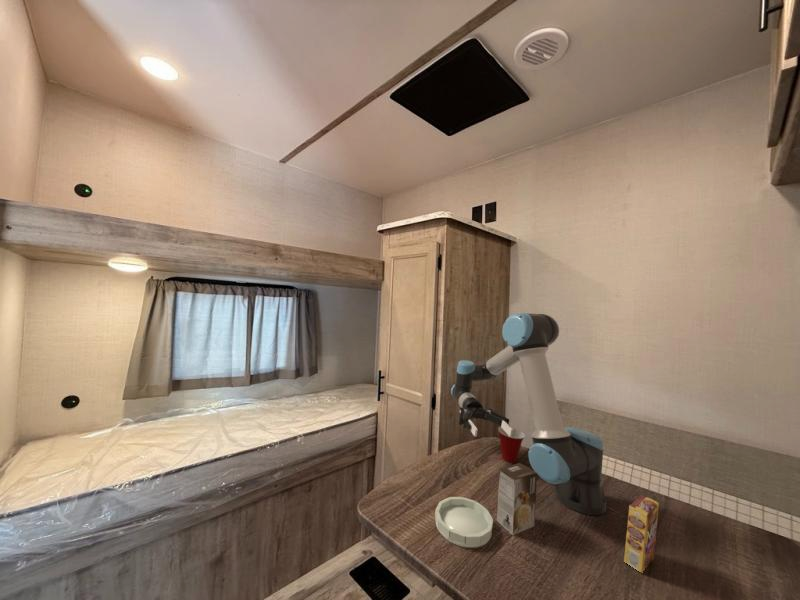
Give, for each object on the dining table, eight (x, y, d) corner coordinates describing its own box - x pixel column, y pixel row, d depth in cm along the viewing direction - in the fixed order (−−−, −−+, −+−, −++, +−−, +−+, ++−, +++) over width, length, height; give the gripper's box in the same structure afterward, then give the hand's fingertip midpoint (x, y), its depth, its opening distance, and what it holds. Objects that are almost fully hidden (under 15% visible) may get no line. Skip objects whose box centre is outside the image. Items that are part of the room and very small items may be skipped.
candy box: (643, 576, 75) (647, 514, 74) (623, 563, 78) (626, 504, 78) (656, 560, 80) (659, 502, 80) (636, 548, 83) (639, 493, 83)
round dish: (479, 505, 97) (479, 496, 97) (501, 546, 81) (502, 535, 81) (430, 506, 95) (431, 497, 95) (443, 548, 79) (443, 537, 79)
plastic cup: (527, 467, 122) (529, 437, 122) (500, 465, 122) (502, 435, 122) (517, 453, 133) (519, 426, 133) (493, 451, 133) (494, 424, 133)
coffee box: (517, 512, 95) (520, 461, 95) (535, 526, 89) (538, 472, 89) (495, 521, 91) (498, 467, 91) (512, 536, 85) (516, 479, 85)
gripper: (496, 414, 131) (524, 443, 110) (441, 412, 126) (459, 442, 105) (498, 397, 130) (527, 423, 109) (443, 395, 125) (462, 422, 105)
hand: (494, 433), depth 107 cm, fingers open, 13 cm apart
